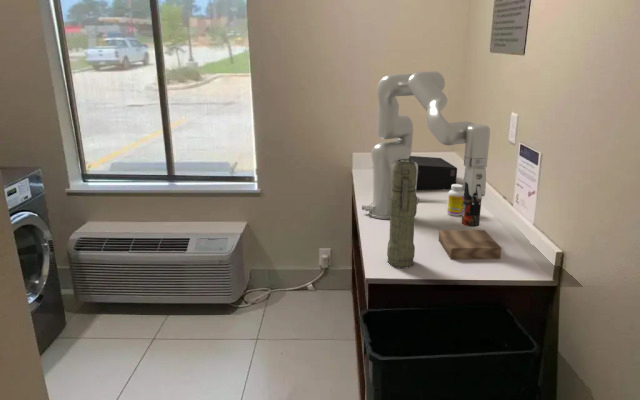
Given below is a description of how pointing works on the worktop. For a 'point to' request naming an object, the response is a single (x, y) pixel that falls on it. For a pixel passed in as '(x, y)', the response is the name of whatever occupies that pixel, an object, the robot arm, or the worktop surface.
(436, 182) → the headphone box
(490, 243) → the walnut stand
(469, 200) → the deodorant
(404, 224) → the thermos
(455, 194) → the supplement bottle
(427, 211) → the worktop surface
